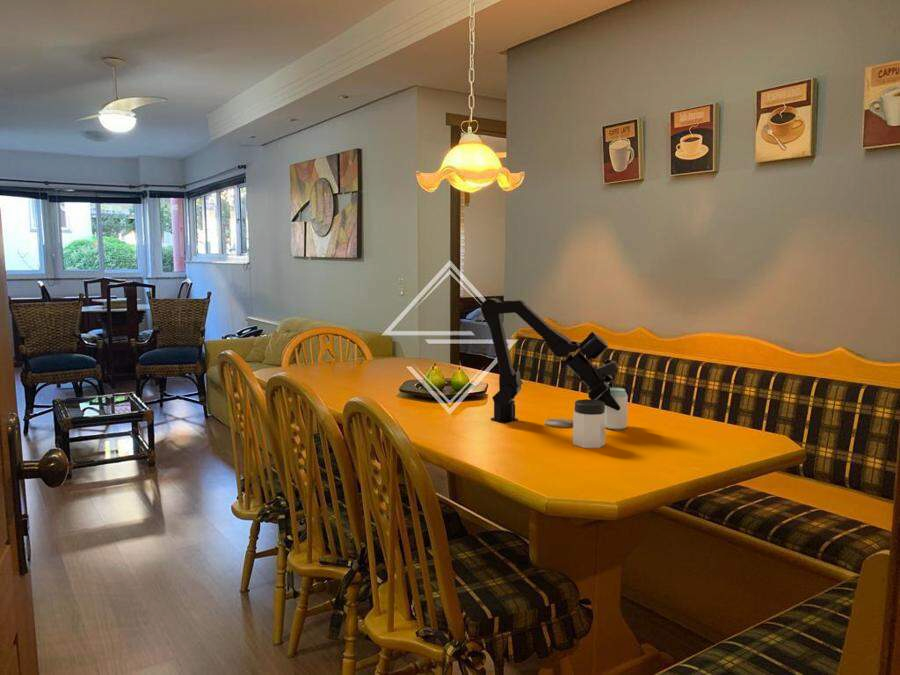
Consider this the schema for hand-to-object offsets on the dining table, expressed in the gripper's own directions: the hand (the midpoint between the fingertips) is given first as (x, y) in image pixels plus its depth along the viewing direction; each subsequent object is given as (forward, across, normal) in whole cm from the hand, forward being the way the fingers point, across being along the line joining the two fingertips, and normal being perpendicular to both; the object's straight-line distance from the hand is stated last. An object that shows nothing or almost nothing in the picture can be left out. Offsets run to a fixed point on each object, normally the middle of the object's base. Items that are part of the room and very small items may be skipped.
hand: (620, 406), depth 206 cm
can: (+4, 0, +6) cm, 7 cm away
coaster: (-8, 0, +17) cm, 19 cm away
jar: (0, -21, +10) cm, 23 cm away
